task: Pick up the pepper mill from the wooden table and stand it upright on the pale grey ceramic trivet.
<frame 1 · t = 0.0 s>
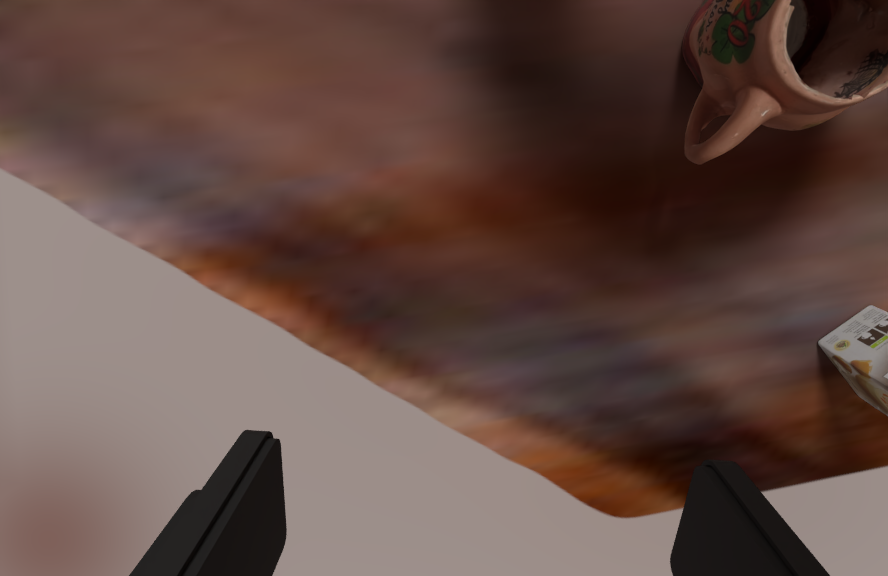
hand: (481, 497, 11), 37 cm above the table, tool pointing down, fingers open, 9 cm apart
coffee box: (862, 351, 50), on the table
decorative planter: (726, 57, 41), on the table
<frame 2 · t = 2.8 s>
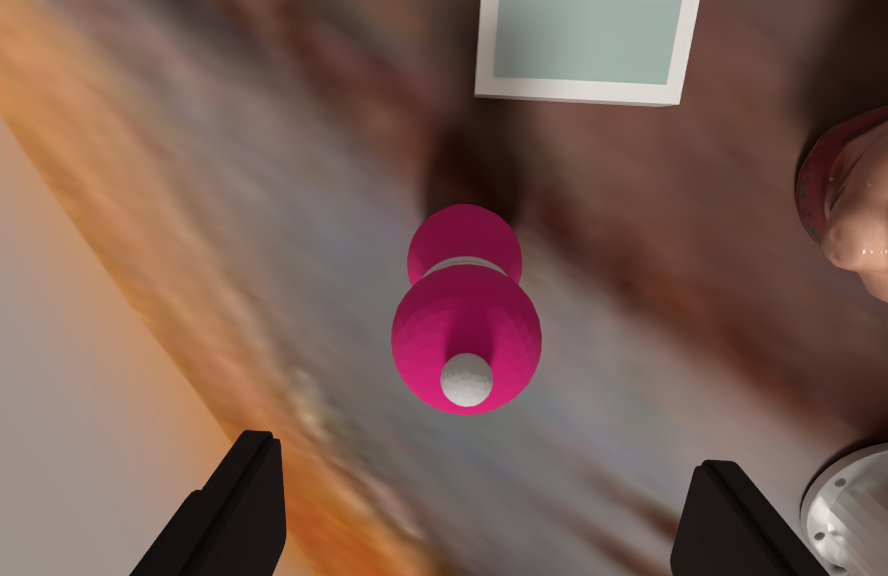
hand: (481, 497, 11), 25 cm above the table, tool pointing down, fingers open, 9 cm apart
pepper mill: (464, 246, 34), on the table
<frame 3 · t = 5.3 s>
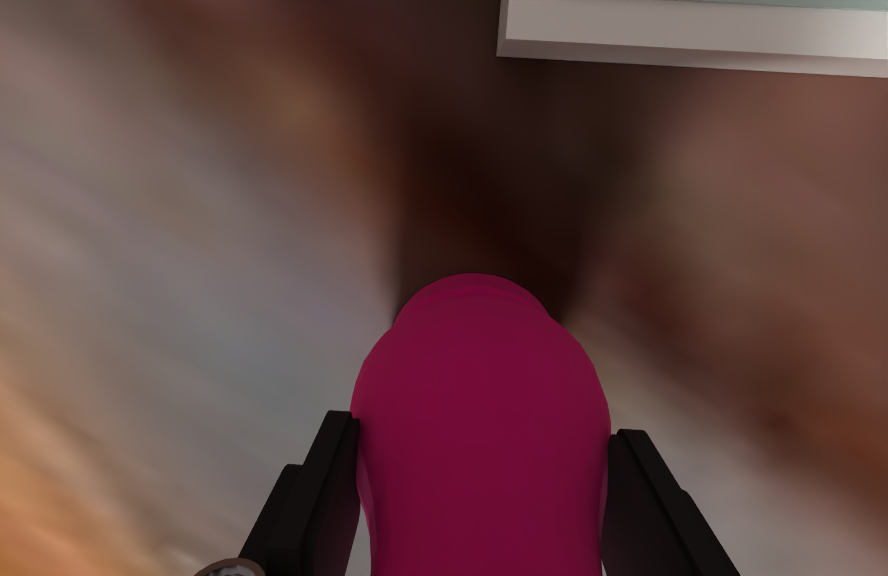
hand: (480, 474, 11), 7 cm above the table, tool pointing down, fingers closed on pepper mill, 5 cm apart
pepper mill: (472, 348, 18), on the table, touching gripper
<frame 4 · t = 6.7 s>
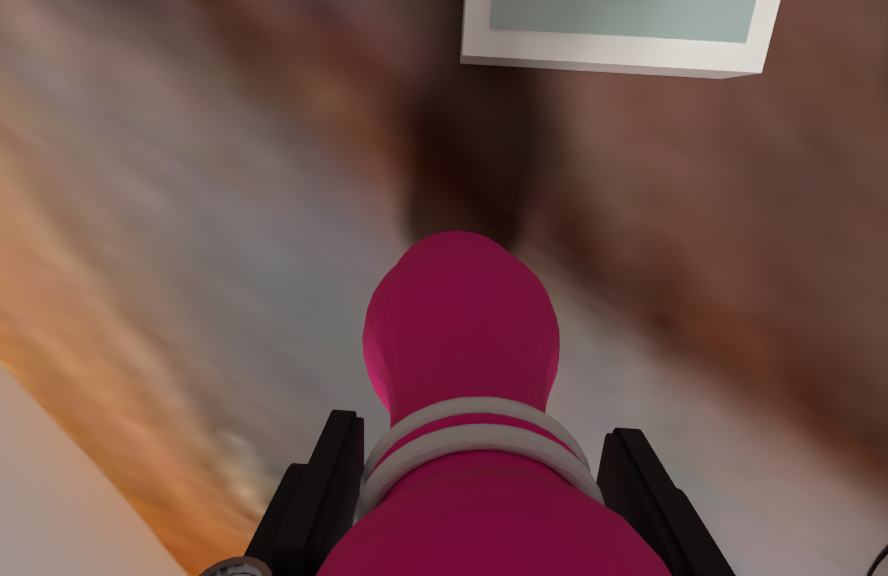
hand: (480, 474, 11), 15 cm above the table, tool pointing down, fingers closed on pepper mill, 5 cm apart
pepper mill: (455, 294, 22), point 3 cm above the table, touching gripper
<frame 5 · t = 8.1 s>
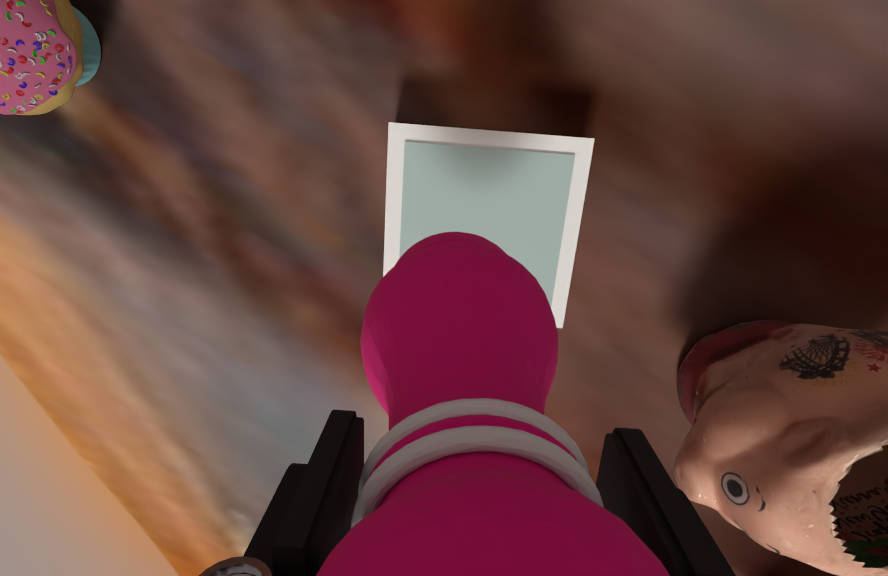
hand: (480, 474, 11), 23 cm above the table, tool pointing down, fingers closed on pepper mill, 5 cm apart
pepper mill: (454, 295, 22), point 11 cm above the table, touching gripper
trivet: (479, 222, 32), on the table
decorative planter: (761, 364, 35), on the table
cupcake: (64, 46, 30), on the table
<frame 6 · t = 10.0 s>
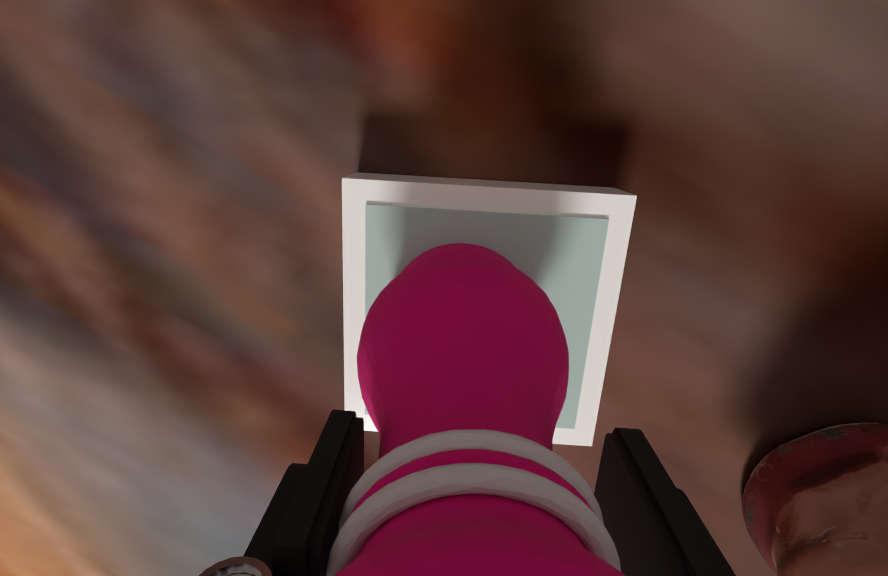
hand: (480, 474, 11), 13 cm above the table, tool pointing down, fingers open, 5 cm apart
pepper mill: (459, 310, 21), point 3 cm above the table, touching gripper, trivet
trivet: (475, 300, 24), on the table
decorative planter: (854, 475, 27), on the table
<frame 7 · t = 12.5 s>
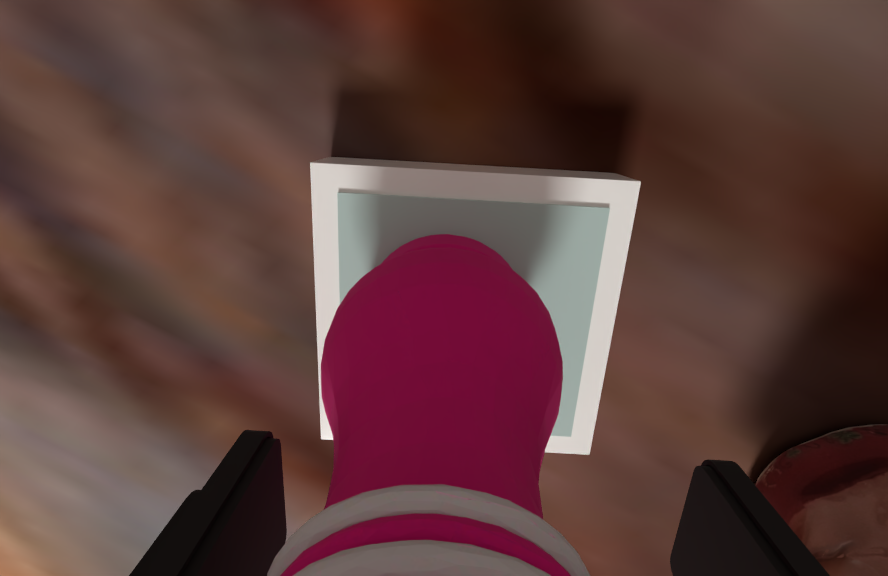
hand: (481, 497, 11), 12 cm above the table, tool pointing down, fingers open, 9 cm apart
pepper mill: (444, 308, 19), point 3 cm above the table, touching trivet
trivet: (463, 297, 22), on the table
decorative planter: (864, 478, 25), on the table
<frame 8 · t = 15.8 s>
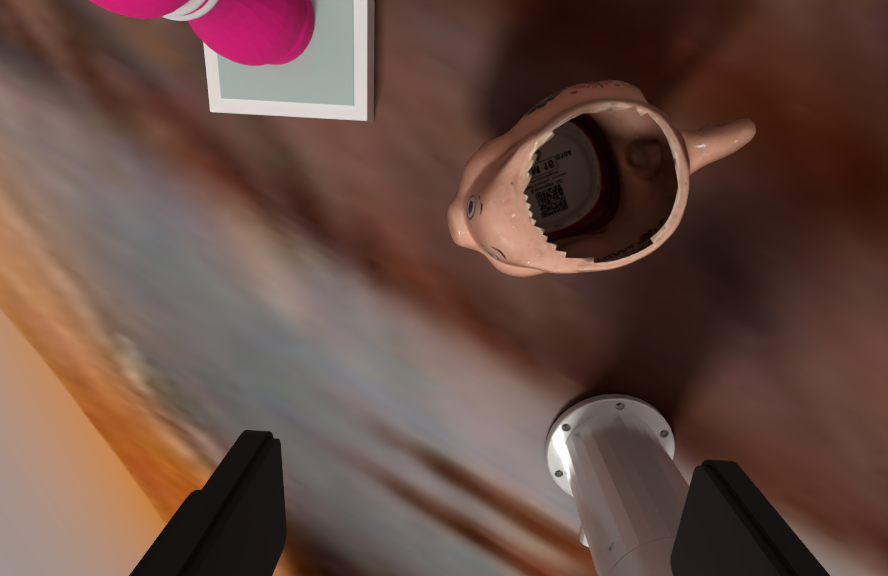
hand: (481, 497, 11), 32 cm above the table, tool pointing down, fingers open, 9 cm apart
pepper mill: (272, 17, 34), point 3 cm above the table, touching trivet
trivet: (297, 35, 37), on the table
decorative planter: (563, 169, 40), on the table
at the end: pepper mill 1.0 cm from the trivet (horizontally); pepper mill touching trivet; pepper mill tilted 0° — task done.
